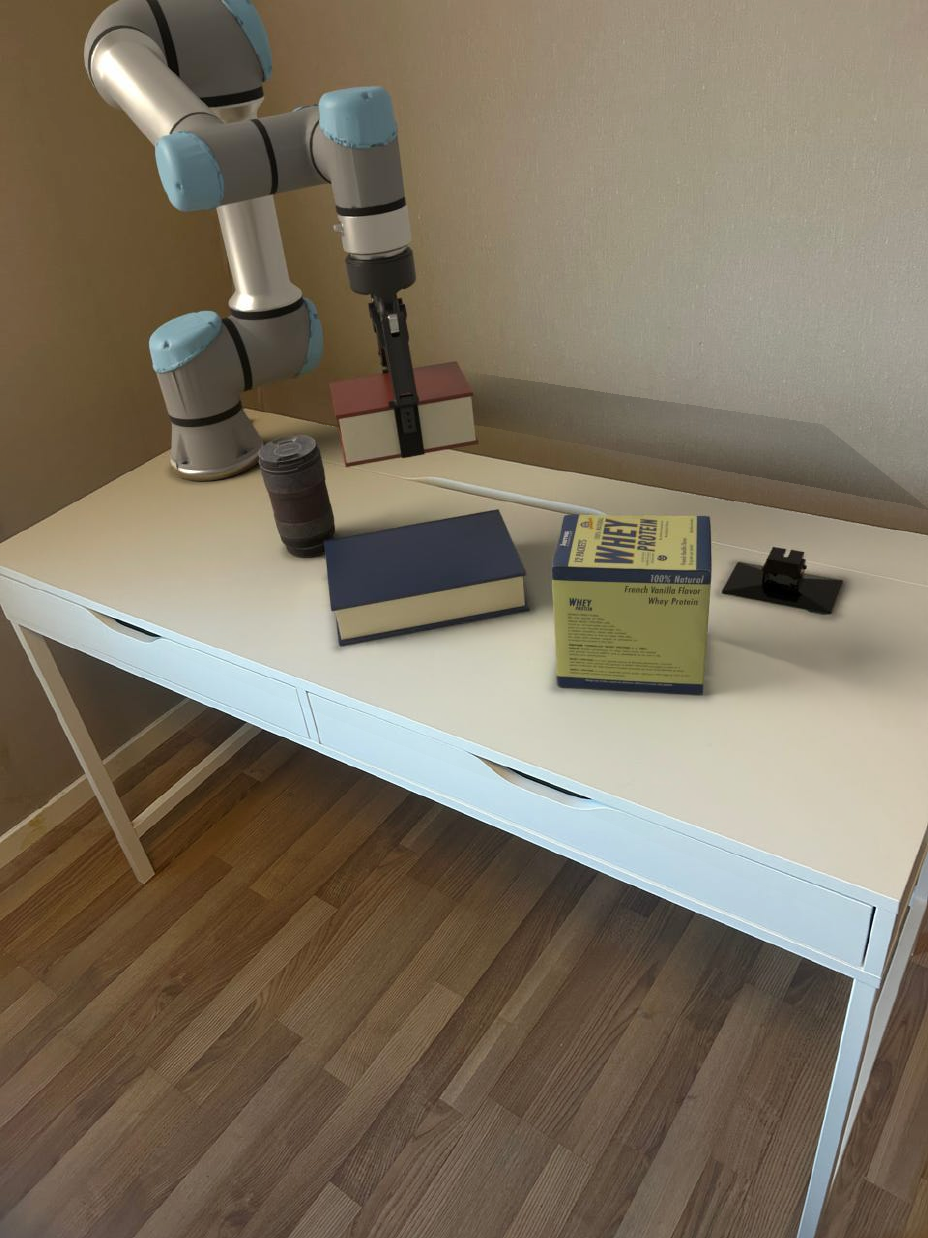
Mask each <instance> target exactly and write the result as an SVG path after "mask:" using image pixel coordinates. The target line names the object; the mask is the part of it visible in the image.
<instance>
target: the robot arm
mask: <svg viewBox="0 0 928 1238" xmlns="http://www.w3.org/2000/svg"><path fill="white" fill-rule="evenodd" d="M83 50H84V51H83V57H84V67H85V70H86V73H87V77H88V79H89V81H90V83H91V85H92V87H93V88H94V89H95V91H96V92H97V94H98V95H99V96H100V97H101V98H102V100H103V101H104V102H105V103H106V104H108V105H109V106H110V107H111V108H113V109H115V110H117V111H119V112H121V113H125V114H126V115H127V116H128V118H130V120H131V121H132V122H133V123H134V124H135V126H136V127H137V128H138V129H139V130H140V131H141V133H142V134H143V135H144V136H145V137H146V138H147V140H148V141H149V142H150V143H151V144H152V145H153V147H154V154H155V162H156V167H157V170H158V175H159V178H160V180H161V181H160V182H161V184H162V187H163V189H164V192H165V193H166V195H167V197H168V200H169V202H170V203H171V205H172V206H173V207H174V209H176V210H178V211H180V212H184V213H188V212H194V211H200V210H206V211H212V210H214V209H215V210H216V214H217V217H218V221H219V225H220V230H221V235H222V238H223V243H224V246H225V251H226V255H227V260H228V263H229V264H228V265H229V268H230V273H231V277H232V282H233V286H234V292H233V294H232V295H231V297H230V298H229V300H228V308H229V311H230V315H229V316H227V317H223V318H222V317H221V316H219V314H218V313H217V312H215V311H212V310H201V311H198V312H194V311H193V312H190V313H186V314H183V315H181V316H178V317H175V318H173V319H171V320H168V321H167V322H164V323H163V324H162V325H161V326H159V327H158V328H157V329H156V330H155V331H153V333H152V334H151V335H150V338H149V341H148V347H149V353H150V357H151V358H150V359H151V361H152V369H153V370H154V372H155V374H156V376H157V380H158V383H159V387H160V390H161V393H162V397H163V401H164V403H165V407H166V410H167V414H168V416H169V419H170V422H171V449H170V450H171V453H170V457H169V459H170V465H171V466H172V469H173V472H174V473H175V475H177V476H178V477H180V478H182V479H184V480H188V481H195V482H196V481H197V482H207V481H216V480H221V479H222V480H223V479H225V478H229V477H232V476H236V475H239V474H241V473H244V472H246V471H248V470H250V469H252V468H254V467H255V466H256V465H257V464H259V451H260V449H261V448H262V447H263V446H264V445H265V444H264V442H263V441H264V440H263V439H262V437H261V435H260V434H259V432H258V431H257V429H256V427H255V426H254V425H253V423H252V421H251V420H250V418H249V416H248V415H247V413H246V412H245V410H244V408H243V404H242V401H241V395H240V394H241V393H245V392H248V391H252V390H256V389H258V388H262V387H265V386H269V385H272V384H277V383H279V382H283V381H286V380H287V381H288V380H293V379H298V378H299V377H300V376H302V375H305V374H309V373H311V372H313V371H315V370H316V369H317V368H318V366H319V365H320V363H321V361H322V358H323V353H324V336H323V334H324V333H323V327H322V323H321V320H320V319H319V313H318V310H317V308H316V306H315V304H314V303H313V301H311V300H310V299H309V298H308V297H304V296H303V292H302V289H300V288H299V287H298V286H297V285H295V284H294V283H292V282H291V279H290V275H289V271H288V265H287V259H286V255H285V251H284V245H283V240H282V235H281V231H280V225H279V220H278V214H277V210H276V204H275V200H274V195H277V194H282V193H283V194H284V193H287V192H293V191H297V190H301V189H306V188H311V187H316V186H319V185H326V184H327V185H331V188H332V193H333V198H334V205H335V211H336V212H335V213H336V214H337V219H338V220H339V222H337V223H334V224H333V231H334V232H335V233H337V234H339V233H341V234H340V236H341V242H342V246H343V251H344V252H346V253H347V256H346V257H345V259H344V262H345V268H346V274H347V281H348V285H349V289H350V290H351V292H353V293H355V294H357V295H362V296H370V299H371V302H368V303H367V307H368V313H369V318H370V319H371V322H372V327H373V331H374V333H375V335H376V342H377V349H378V350H377V355H378V356H379V358H380V361H379V362H380V363H379V364H380V365H381V367H382V369H381V372H382V373H381V374H383V373H389V376H390V381H391V386H392V391H393V397H394V400H393V401H390V402H388V406H389V408H394V413H395V419H396V425H397V432H398V438H399V444H400V450H401V456H402V457H401V458H402V459H406V458H407V459H408V458H412V457H417V456H423V455H426V453H424V446H423V439H422V432H421V425H420V418H419V411H418V403H419V396H418V395H417V391H416V385H415V379H414V373H413V368H414V367H413V362H412V356H411V350H410V346H409V345H410V344H409V342H410V336H409V330H408V329H409V328H408V325H407V319H408V318H407V317H408V313H407V308H406V304H405V303H404V301H403V297H398V294H397V293H399V292H400V291H401V290H407V289H408V288H410V287H411V286H413V285H414V284H415V282H416V281H417V273H416V264H415V258H414V251H413V249H412V248H411V247H410V246H409V245H410V244H411V242H412V232H411V225H410V224H411V223H410V217H409V216H410V215H409V209H408V203H407V200H406V194H405V193H406V191H405V185H404V178H403V177H404V176H403V169H402V161H401V152H400V144H399V143H400V142H399V135H398V133H399V127H398V122H397V121H396V117H395V112H394V107H393V102H392V96H391V94H390V92H389V91H388V90H387V89H386V88H384V87H383V86H380V85H370V86H367V85H366V86H353V87H347V88H342V89H336V90H331V91H328V92H326V93H325V92H324V93H323V94H322V96H321V97H320V98H319V100H318V101H319V102H318V103H314V104H309V105H303V106H300V107H297V108H295V109H293V110H292V111H290V112H289V111H288V112H284V113H279V114H275V115H269V116H268V115H267V116H263V117H258V111H259V108H260V106H261V105H262V104H263V101H264V100H265V94H264V89H263V84H265V83H267V82H268V81H269V80H270V79H271V77H272V76H273V70H274V67H273V65H272V64H273V62H274V61H273V54H272V50H271V45H270V41H269V38H268V35H267V32H266V28H265V26H264V23H263V21H262V18H261V16H260V14H259V12H258V10H257V8H256V6H255V5H254V3H253V2H252V0H117V1H115V2H114V3H112V4H110V5H109V6H108V7H106V8H105V9H104V10H102V12H100V14H99V15H98V16H97V17H96V19H95V20H94V22H93V23H92V25H91V27H90V28H89V30H88V32H87V36H86V39H85V42H84V49H83ZM406 393H410V394H406ZM401 394H406V395H401Z"/></svg>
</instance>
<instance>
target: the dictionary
mask: <svg viewBox="0 0 928 1238" xmlns="http://www.w3.org/2000/svg"><path fill="white" fill-rule="evenodd" d="M412 368H413V373H414V379H415V385H416V391H417V395H418V396H419V403H418V411H419V418H420V425H421V432H422V439H423V446H424V453H425V454H428V453H429V454H430V453H435V452H439V451H440V452H441V451H445V450H451V449H458V448H462V447H469V446H474V445H479V439H478V436H477V435H476V429H475V421H474V410H473V402H472V397H474V391H473V389H472V387H471V385H470V384H469V382H468V380H467V378H466V376H465V374H464V372H463V370H462V369H461V366H460V365H459V363H458V361H457V360H455V361H454V360H453V361H448V362H442V363H435V364H431V365H425V366H419V367H412ZM329 388H330V394H331V398H332V403H333V409H334V415H335V420H336V422H337V429H338V433H339V439H340V445H341V450H342V455H343V461H344V465H345V468H349V467H354V466H361V465H368V464H372V463H377V462H383V461H389V460H395V459H400V458H402V456H401V450H400V444H399V438H398V432H397V425H396V419H395V413H394V408H389V406H388V402H390V401H393V400H394V397H393V391H392V386H391V381H390V376H389V373H378V374H372V375H366V376H365V375H364V376H359V377H354V378H348V379H341V380H336V381H330V382H329ZM406 394H410V393H406ZM406 394H401V395H406Z"/></svg>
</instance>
